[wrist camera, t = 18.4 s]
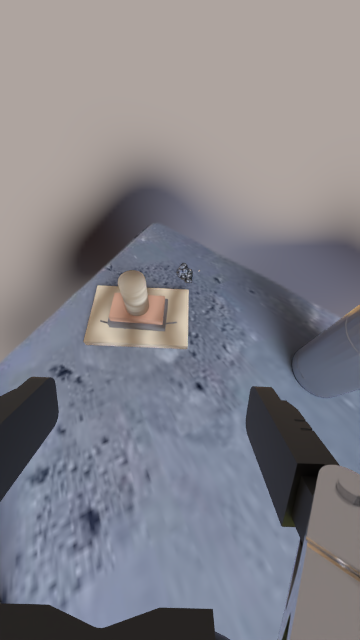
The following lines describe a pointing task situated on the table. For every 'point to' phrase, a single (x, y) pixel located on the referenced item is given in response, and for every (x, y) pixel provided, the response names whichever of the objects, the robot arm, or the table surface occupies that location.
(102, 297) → the board
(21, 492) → the table surface
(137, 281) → the block
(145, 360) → the table surface
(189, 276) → the gravel pile
